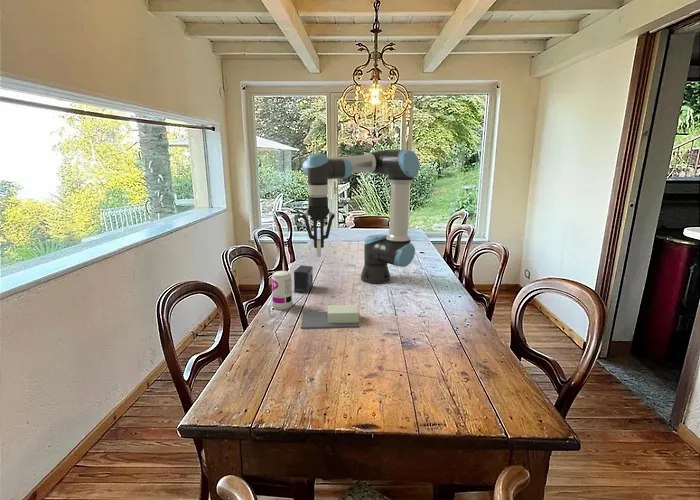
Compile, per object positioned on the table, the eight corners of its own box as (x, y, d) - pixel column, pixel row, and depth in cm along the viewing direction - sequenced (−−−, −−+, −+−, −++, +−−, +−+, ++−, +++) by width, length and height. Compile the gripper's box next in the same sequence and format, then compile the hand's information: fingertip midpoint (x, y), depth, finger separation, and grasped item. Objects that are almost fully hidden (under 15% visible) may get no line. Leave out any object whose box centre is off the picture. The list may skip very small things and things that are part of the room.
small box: (307, 293, 187) (306, 272, 184) (293, 292, 188) (293, 271, 185) (313, 286, 197) (313, 265, 194) (300, 285, 198) (300, 264, 195)
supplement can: (276, 311, 166) (274, 277, 162) (270, 305, 173) (268, 271, 170) (294, 308, 170) (293, 274, 166) (288, 301, 177) (287, 269, 173)
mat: (356, 312, 166) (356, 311, 165) (359, 327, 152) (359, 325, 152) (302, 313, 164) (302, 312, 164) (300, 328, 151) (300, 327, 151)
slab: (327, 314, 162) (357, 314, 163) (327, 323, 154) (359, 322, 155) (327, 305, 161) (357, 304, 162) (327, 313, 153) (359, 312, 154)
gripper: (335, 194, 157) (335, 253, 163) (301, 194, 156) (302, 253, 162) (335, 197, 150) (335, 258, 155) (300, 197, 149) (301, 258, 155)
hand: (319, 255), depth 159 cm, fingers closed
